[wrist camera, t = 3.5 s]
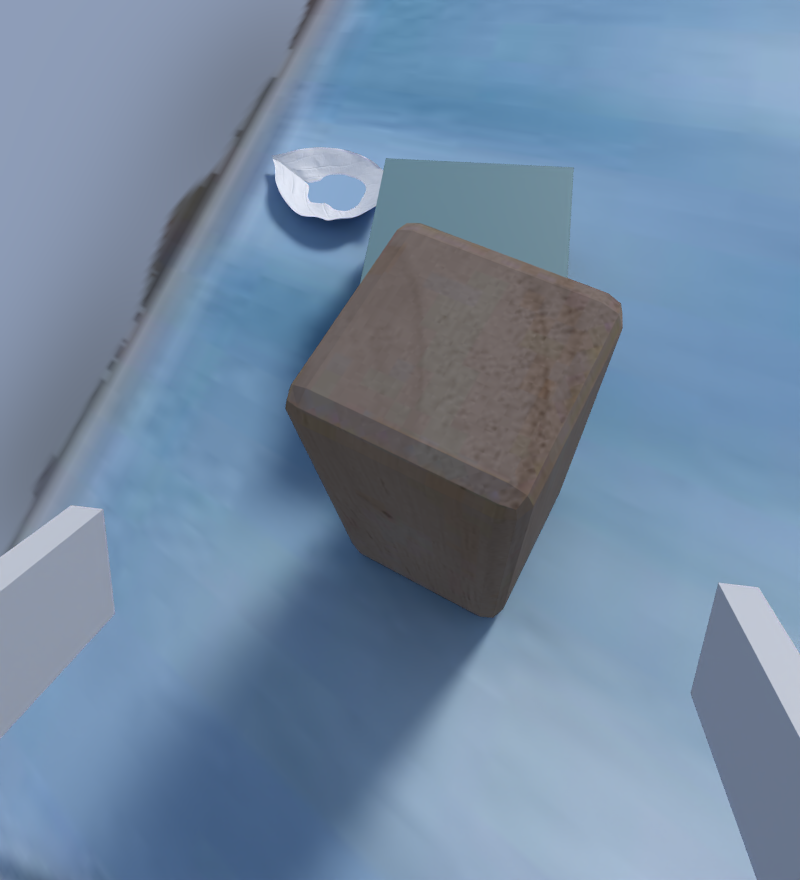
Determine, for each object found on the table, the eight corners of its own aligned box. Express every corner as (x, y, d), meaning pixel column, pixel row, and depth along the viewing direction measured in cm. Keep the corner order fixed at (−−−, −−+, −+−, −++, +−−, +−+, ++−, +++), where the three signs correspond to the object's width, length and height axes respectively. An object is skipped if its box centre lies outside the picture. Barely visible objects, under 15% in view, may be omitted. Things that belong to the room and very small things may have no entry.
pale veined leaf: (362, 256, 52) (357, 230, 50) (247, 202, 56) (237, 176, 54) (422, 193, 55) (419, 166, 53) (307, 146, 59) (301, 119, 57)
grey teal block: (554, 368, 42) (564, 327, 38) (363, 352, 44) (354, 310, 40) (563, 218, 47) (573, 167, 43) (391, 208, 49) (385, 158, 45)
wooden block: (348, 550, 43) (268, 399, 25) (424, 421, 46) (402, 205, 28) (494, 627, 40) (523, 522, 22) (563, 485, 44) (638, 292, 25)
